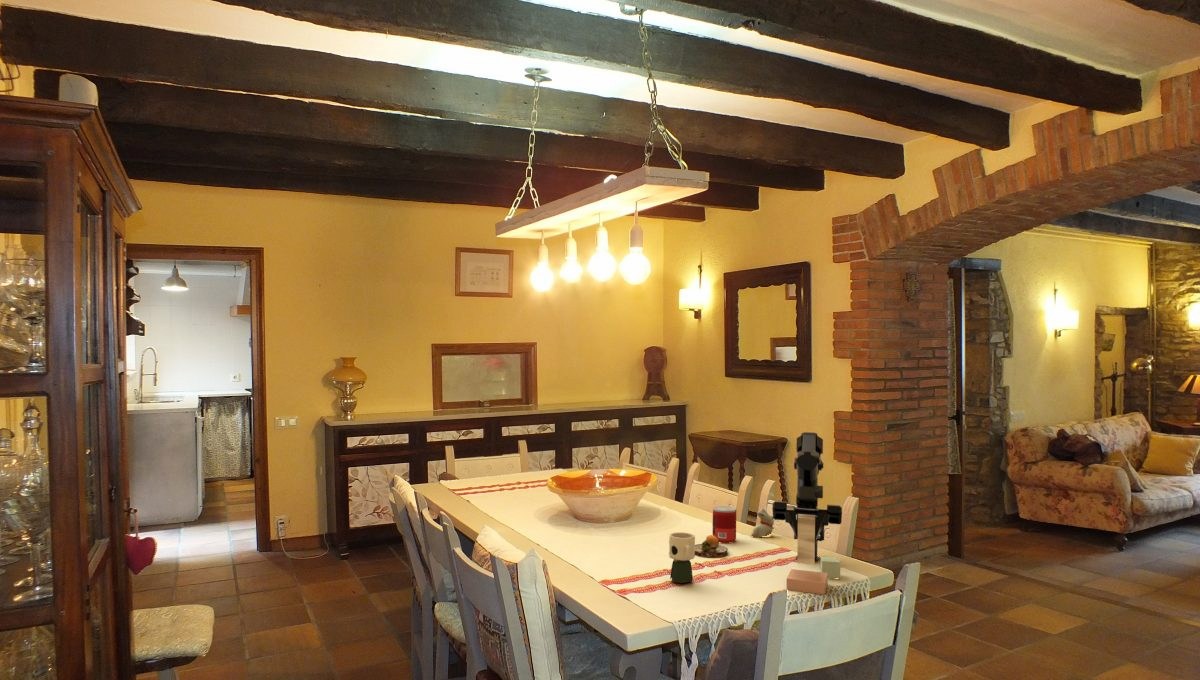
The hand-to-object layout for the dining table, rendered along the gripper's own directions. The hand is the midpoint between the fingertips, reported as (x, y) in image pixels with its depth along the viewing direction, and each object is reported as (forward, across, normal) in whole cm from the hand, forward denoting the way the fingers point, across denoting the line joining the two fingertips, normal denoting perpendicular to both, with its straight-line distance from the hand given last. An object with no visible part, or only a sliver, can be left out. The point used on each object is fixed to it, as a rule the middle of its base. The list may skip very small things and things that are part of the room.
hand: (806, 538), depth 208 cm
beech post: (+4, 0, +6) cm, 7 cm away
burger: (-10, -30, +30) cm, 44 cm away
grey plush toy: (-30, -16, +50) cm, 61 cm away
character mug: (+14, -33, +6) cm, 36 cm away
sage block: (0, +7, +19) cm, 20 cm away
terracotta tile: (+8, 0, +10) cm, 13 cm away
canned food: (-23, -28, +42) cm, 56 cm away
